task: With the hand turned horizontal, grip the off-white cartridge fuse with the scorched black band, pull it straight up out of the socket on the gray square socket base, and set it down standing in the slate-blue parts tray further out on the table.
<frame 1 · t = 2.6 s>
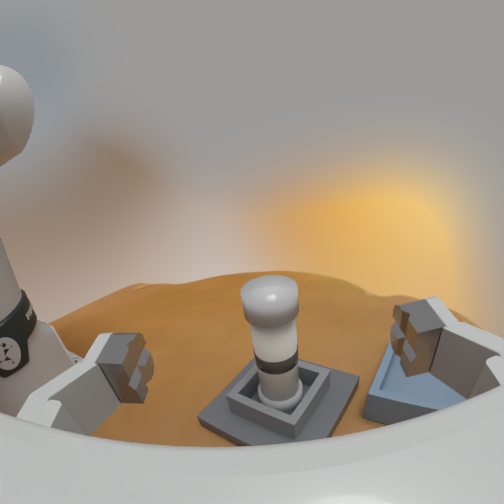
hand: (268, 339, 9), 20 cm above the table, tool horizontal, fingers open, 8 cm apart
parts tray: (430, 388, 26), on the table
gray square socket base: (282, 408, 29), on the table
fuse: (281, 399, 28), point 2 cm above the table, touching gray square socket base
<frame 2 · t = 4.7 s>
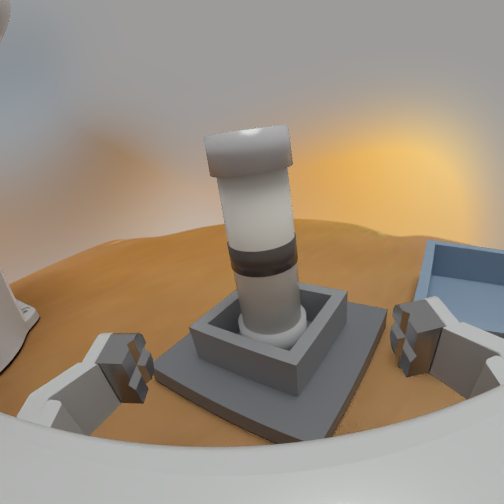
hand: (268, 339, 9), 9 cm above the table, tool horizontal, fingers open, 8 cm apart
parts tray: (482, 326, 18), on the table
gray square socket base: (277, 357, 20), on the table
fuse: (275, 340, 20), point 2 cm above the table, touching gray square socket base
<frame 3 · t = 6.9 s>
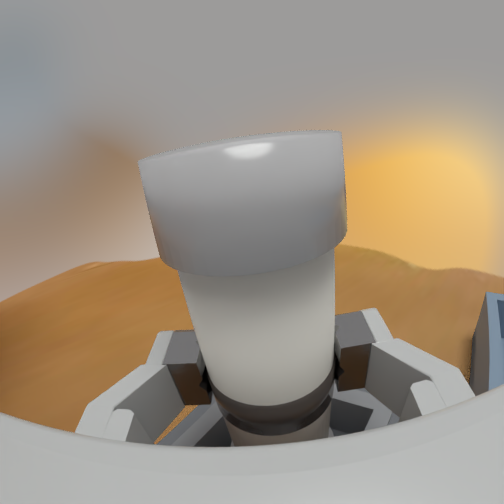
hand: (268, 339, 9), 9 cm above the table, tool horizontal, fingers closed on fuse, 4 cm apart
gray square socket base: (286, 476, 12), on the table
fuse: (285, 464, 11), point 2 cm above the table, touching gray square socket base, gripper
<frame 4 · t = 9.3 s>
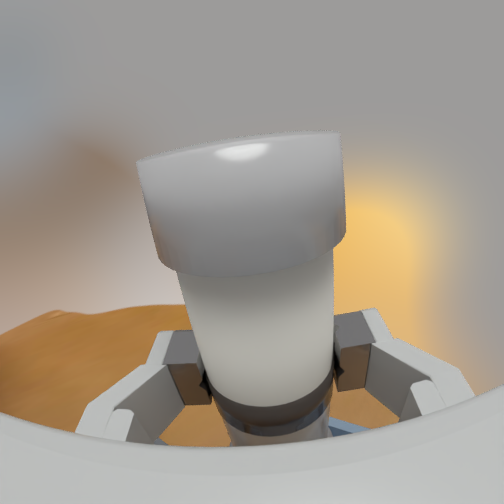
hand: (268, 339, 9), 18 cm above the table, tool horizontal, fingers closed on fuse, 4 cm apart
fuse: (284, 465, 11), point 11 cm above the table, touching gripper
when the fingers open (10 cm above the table, at t = 11.5 s): fuse drops 2 cm, resting on parts tray.
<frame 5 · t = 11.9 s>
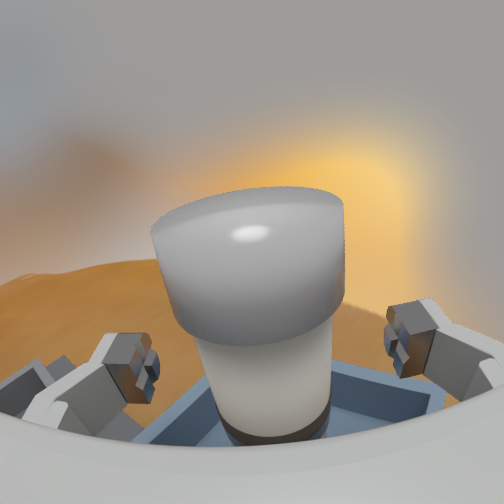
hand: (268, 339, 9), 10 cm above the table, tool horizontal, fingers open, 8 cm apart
parts tray: (287, 483, 12), on the table
gray square socket base: (46, 443, 14), on the table
fuse: (285, 477, 12), point 1 cm above the table, touching parts tray
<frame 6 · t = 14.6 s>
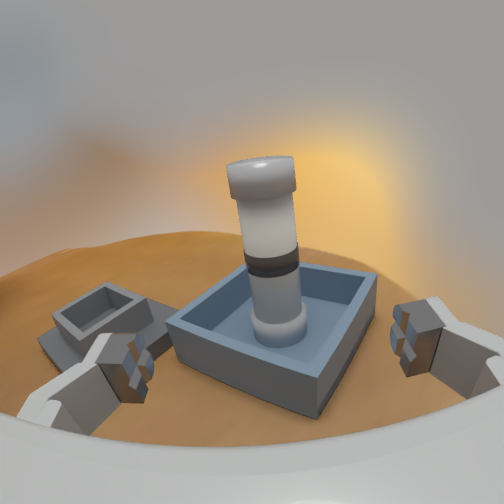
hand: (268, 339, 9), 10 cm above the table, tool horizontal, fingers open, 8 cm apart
parts tray: (282, 339, 24), on the table
gray square socket base: (110, 341, 26), on the table
fuse: (280, 330, 24), point 1 cm above the table, touching parts tray
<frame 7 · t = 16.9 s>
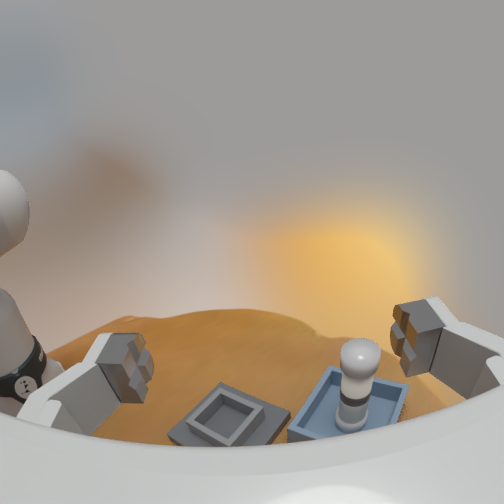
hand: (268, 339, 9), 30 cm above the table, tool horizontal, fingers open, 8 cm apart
parts tray: (350, 424, 35), on the table
gray square socket base: (229, 431, 37), on the table
fuse: (350, 421, 34), point 1 cm above the table, touching parts tray
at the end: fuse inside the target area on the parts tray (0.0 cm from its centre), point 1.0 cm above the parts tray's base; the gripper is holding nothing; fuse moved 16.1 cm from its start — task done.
